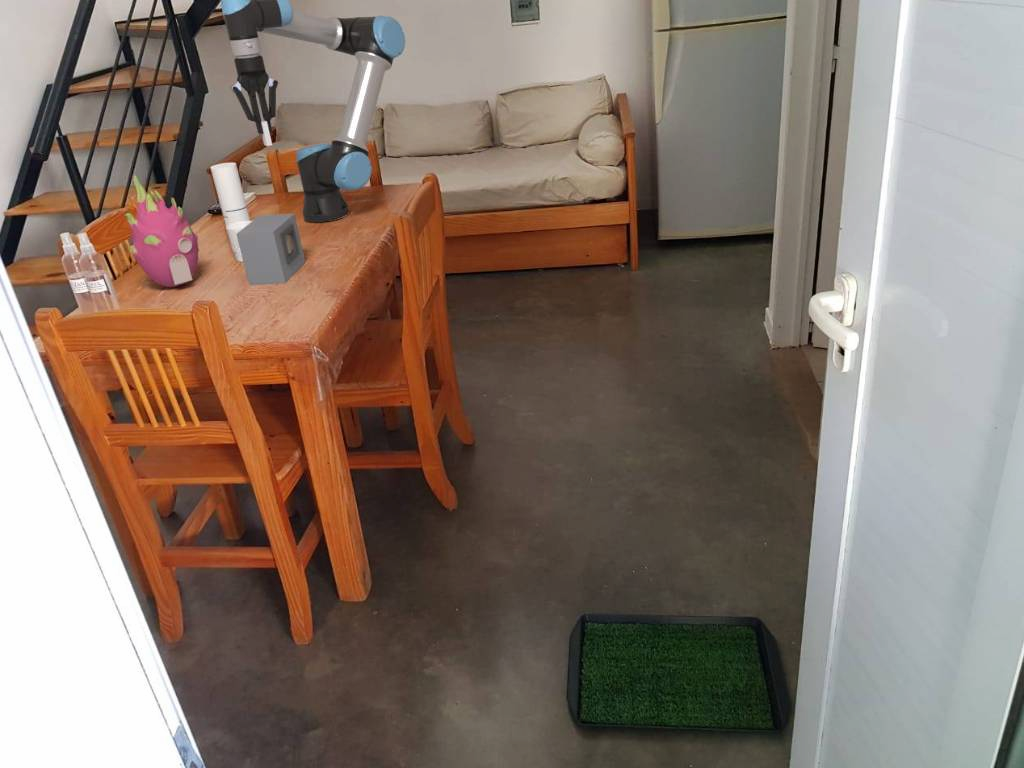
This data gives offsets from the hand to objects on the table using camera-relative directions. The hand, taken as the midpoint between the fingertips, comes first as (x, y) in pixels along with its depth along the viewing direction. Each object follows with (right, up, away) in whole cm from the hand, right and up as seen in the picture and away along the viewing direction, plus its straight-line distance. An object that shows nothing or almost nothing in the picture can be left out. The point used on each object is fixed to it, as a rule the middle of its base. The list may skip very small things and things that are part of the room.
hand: (268, 144), depth 223 cm
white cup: (-7, -32, +5) cm, 33 cm away
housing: (+6, -38, -9) cm, 39 cm away
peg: (+5, -33, -11) cm, 35 cm away
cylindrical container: (-11, -27, +14) cm, 33 cm away
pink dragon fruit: (-21, -42, -11) cm, 48 cm away
